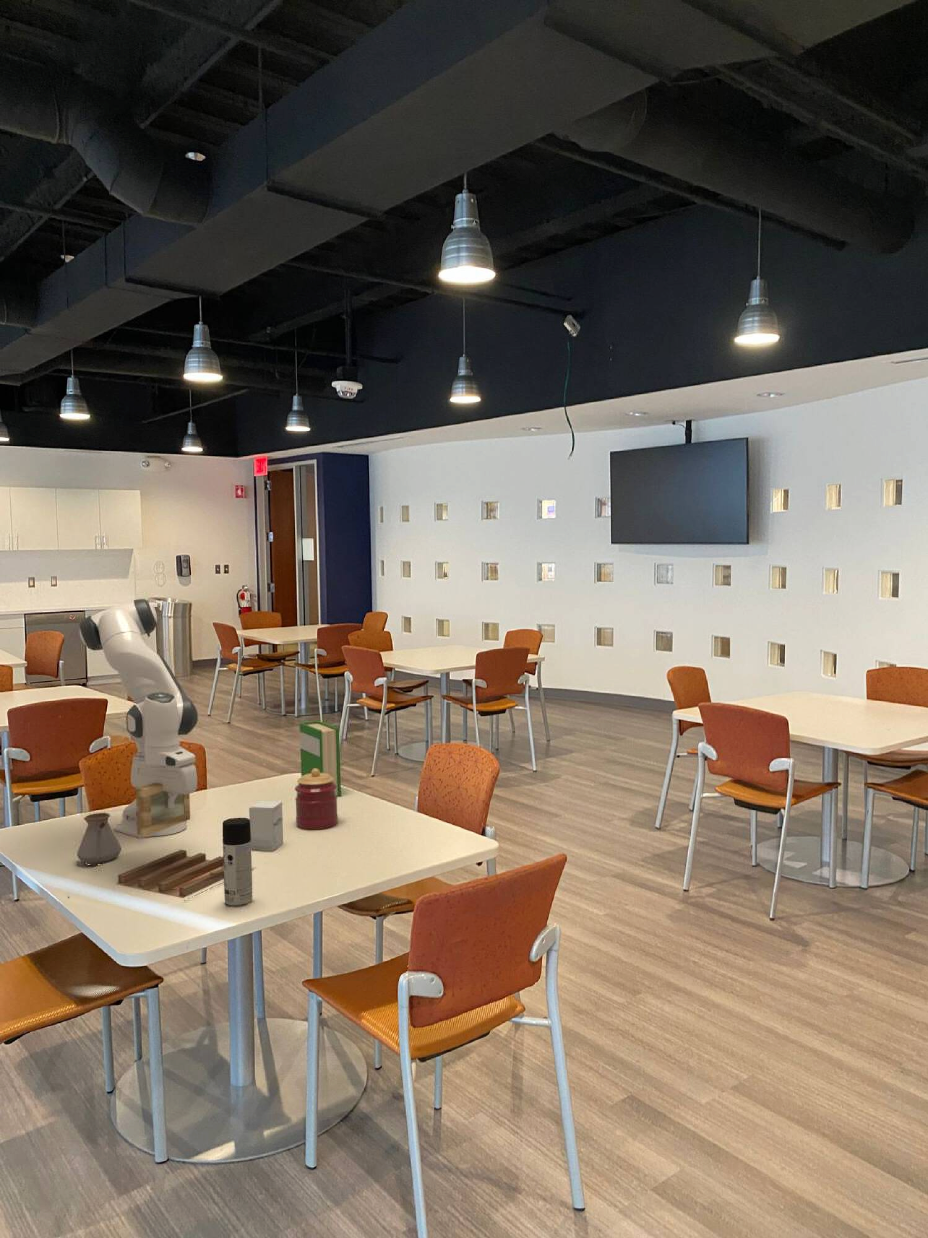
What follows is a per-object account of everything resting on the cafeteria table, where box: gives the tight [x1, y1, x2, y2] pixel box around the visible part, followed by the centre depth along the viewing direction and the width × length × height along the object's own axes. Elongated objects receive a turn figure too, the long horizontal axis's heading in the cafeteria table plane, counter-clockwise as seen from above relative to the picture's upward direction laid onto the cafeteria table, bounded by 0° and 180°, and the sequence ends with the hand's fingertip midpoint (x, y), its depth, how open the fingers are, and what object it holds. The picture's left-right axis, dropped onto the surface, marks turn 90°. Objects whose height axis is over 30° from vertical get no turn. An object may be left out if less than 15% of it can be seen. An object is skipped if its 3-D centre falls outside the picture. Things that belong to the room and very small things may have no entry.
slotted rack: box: [115, 849, 224, 902], centre depth 238 cm, size 23×24×4 cm
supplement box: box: [248, 800, 284, 852], centre depth 263 cm, size 7×7×13 cm
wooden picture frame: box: [135, 783, 191, 836], centre depth 241 cm, size 3×16×12 cm, turn 154°
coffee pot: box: [76, 812, 122, 865], centre depth 249 cm, size 21×12×15 cm, turn 27°
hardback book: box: [299, 720, 342, 798], centre depth 322 cm, size 18×7×24 cm, turn 32°
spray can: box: [222, 817, 253, 907], centre depth 221 cm, size 7×7×20 cm
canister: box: [294, 768, 339, 831], centre depth 284 cm, size 13×13×18 cm
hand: (164, 807), depth 241 cm, fingers closed on wooden picture frame, 3 cm apart
